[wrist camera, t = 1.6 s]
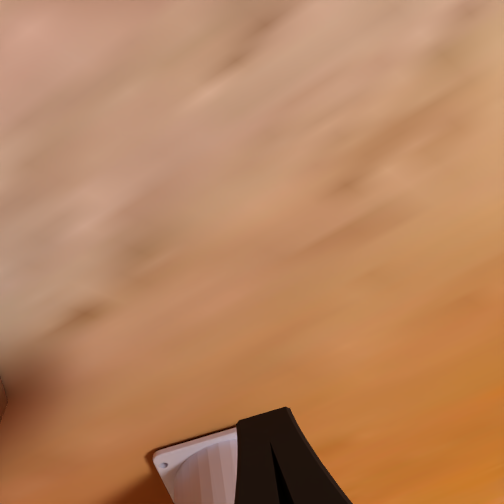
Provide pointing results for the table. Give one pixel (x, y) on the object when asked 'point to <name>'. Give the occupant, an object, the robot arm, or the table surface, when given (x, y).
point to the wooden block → (2, 400)
